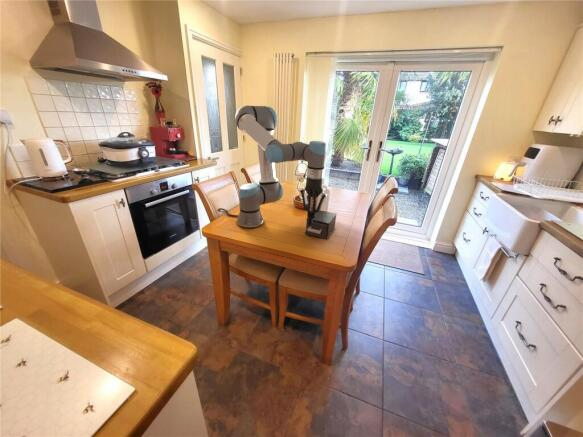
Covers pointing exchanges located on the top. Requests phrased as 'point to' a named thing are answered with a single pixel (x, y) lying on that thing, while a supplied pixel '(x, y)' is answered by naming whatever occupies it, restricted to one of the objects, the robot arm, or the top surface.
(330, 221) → the small drawer unit
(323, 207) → the milk
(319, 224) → the grey drawer
